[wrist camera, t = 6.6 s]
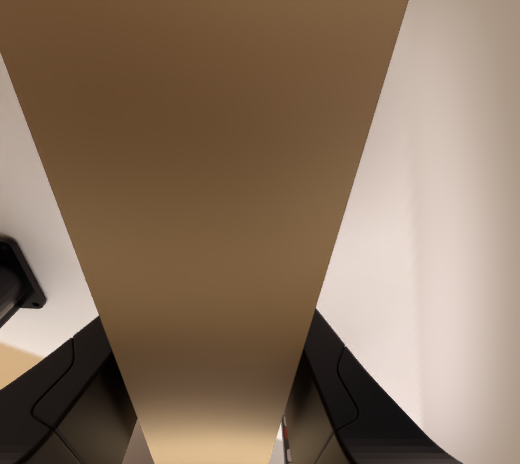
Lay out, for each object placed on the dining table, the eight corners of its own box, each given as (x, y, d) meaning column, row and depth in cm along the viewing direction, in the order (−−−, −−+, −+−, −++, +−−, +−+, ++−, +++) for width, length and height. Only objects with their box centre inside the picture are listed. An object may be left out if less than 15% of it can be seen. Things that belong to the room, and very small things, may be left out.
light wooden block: (256, 370, 14) (257, 497, 10) (192, 369, 14) (167, 498, 10) (314, -23, 6) (489, -270, 2) (153, -44, 5) (-173, -407, 1)
